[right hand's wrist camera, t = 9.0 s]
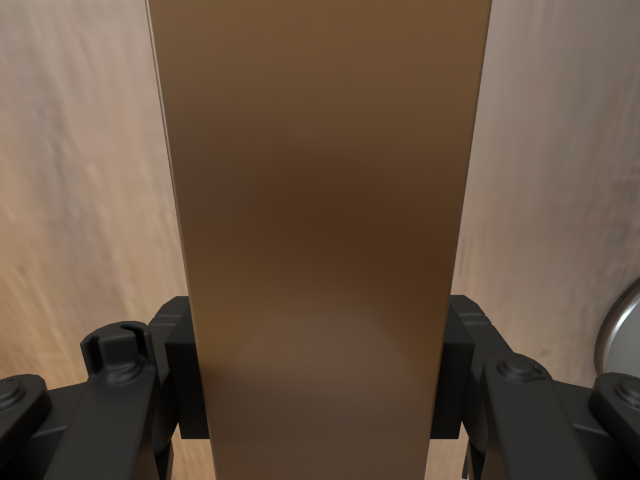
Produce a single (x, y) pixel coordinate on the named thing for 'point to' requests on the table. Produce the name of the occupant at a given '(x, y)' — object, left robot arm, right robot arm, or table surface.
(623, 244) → the table surface
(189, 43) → the post
